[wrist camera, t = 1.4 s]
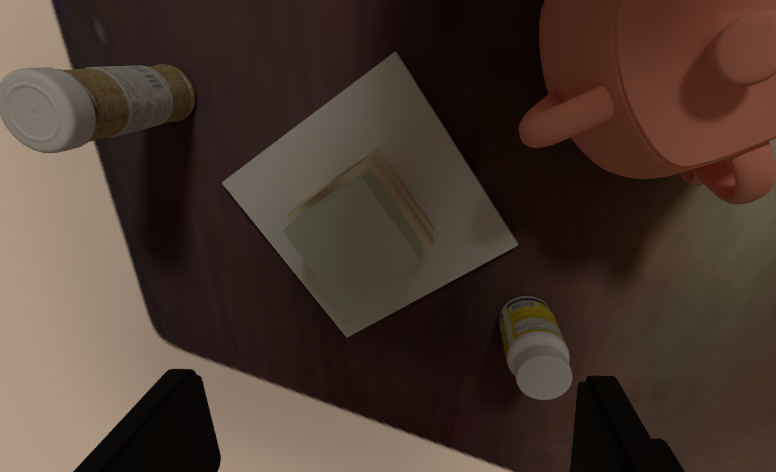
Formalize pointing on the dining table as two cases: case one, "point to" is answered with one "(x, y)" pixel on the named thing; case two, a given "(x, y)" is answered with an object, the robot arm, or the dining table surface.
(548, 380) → the supplement bottle
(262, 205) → the base plate
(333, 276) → the sage block
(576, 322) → the dining table surface
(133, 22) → the dining table surface
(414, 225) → the birch block
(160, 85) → the sprinkles bottle
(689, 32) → the teapot
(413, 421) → the dining table surface
